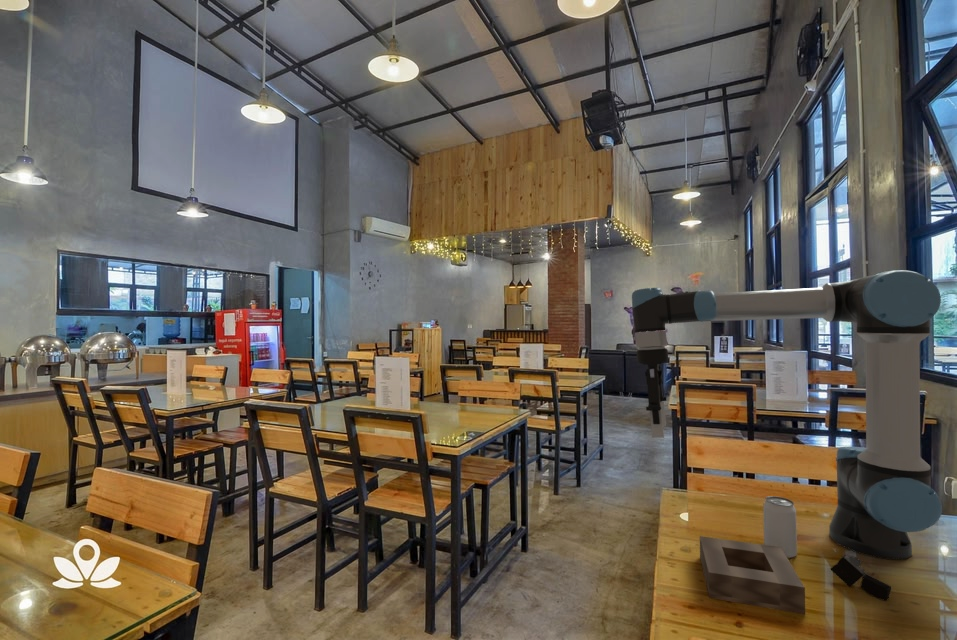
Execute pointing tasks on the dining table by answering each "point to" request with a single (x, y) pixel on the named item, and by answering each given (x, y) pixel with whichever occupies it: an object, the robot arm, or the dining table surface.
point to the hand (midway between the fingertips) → (659, 431)
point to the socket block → (751, 574)
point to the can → (780, 524)
